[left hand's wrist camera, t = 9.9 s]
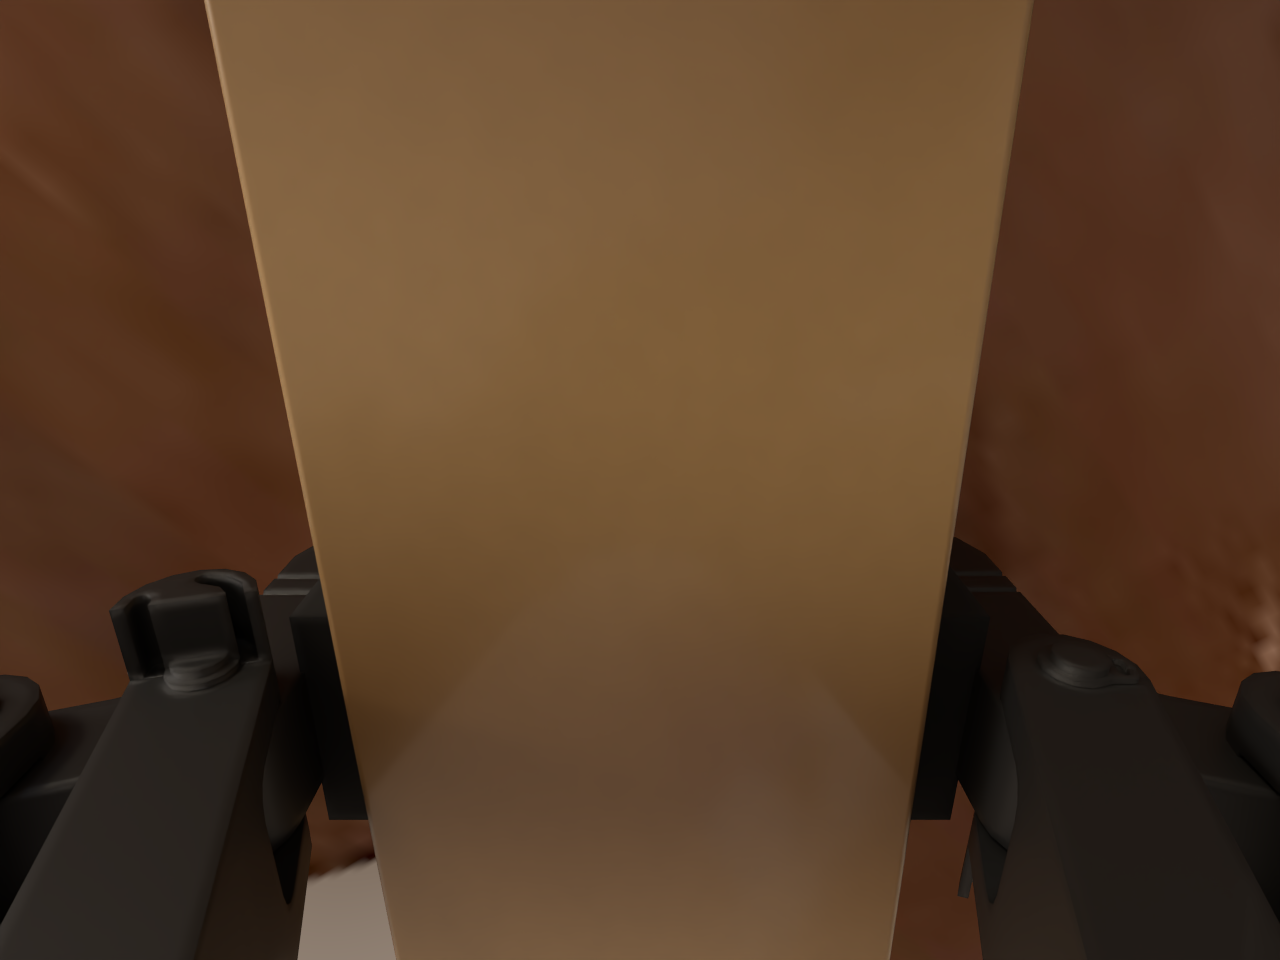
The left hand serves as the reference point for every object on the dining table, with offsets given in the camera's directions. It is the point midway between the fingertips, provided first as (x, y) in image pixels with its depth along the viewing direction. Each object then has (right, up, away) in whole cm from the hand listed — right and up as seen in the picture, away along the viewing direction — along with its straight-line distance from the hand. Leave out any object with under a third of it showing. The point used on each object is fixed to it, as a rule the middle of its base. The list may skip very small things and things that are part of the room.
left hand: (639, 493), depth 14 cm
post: (0, +19, -7) cm, 20 cm away
